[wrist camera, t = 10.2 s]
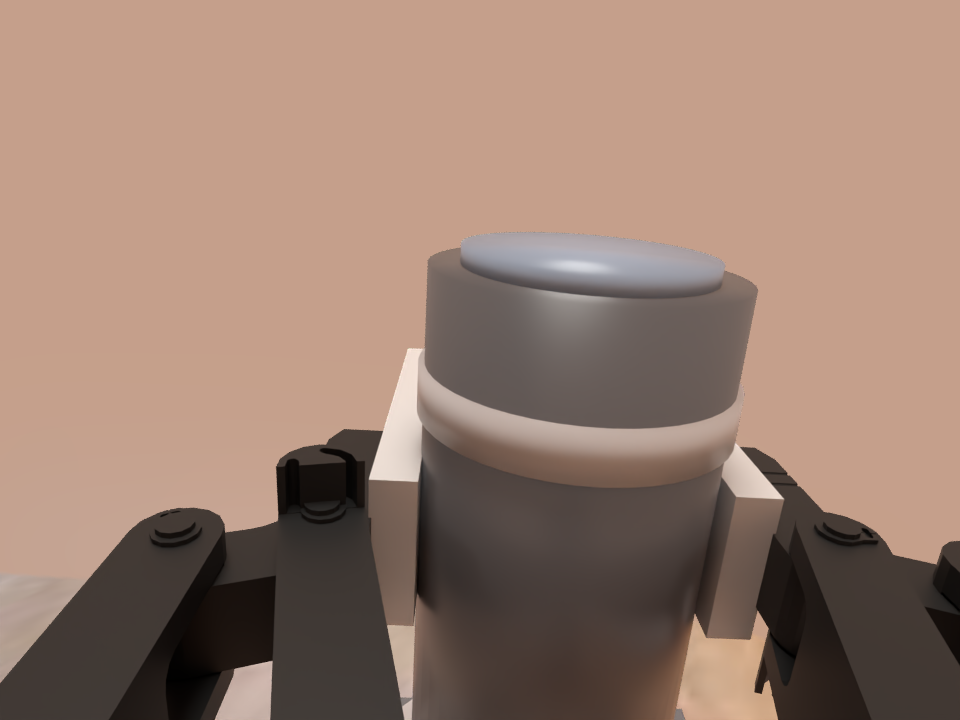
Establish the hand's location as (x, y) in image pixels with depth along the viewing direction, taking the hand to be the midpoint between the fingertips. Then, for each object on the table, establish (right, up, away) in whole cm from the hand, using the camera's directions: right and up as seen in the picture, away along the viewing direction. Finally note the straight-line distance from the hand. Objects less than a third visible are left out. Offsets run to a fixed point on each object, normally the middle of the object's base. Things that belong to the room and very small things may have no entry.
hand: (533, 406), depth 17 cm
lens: (0, -8, -3) cm, 8 cm away
